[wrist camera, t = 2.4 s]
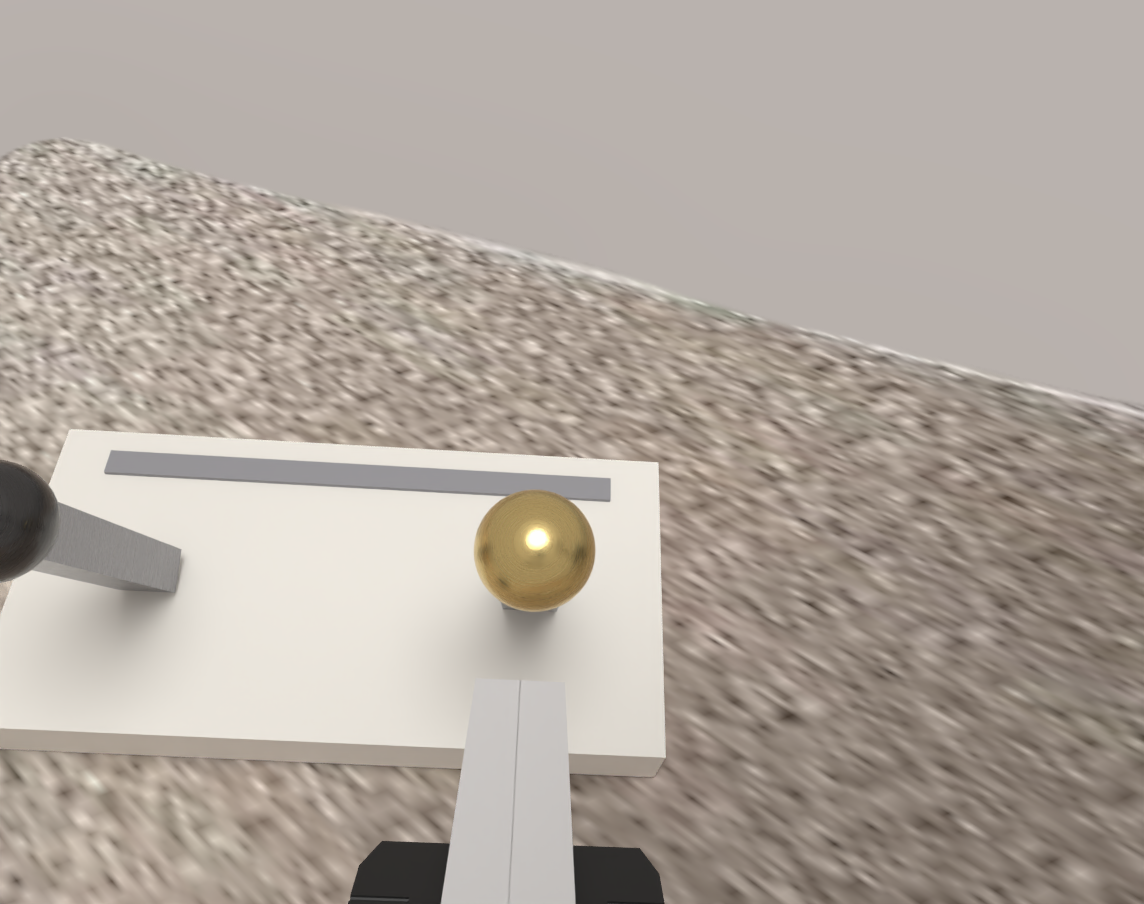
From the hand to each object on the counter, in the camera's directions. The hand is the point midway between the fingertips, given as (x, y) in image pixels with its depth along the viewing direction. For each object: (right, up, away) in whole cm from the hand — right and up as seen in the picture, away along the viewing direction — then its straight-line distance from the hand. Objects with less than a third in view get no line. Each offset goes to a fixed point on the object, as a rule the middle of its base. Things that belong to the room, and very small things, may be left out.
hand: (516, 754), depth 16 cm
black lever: (-15, +1, +19) cm, 24 cm away
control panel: (-8, -1, +22) cm, 23 cm away
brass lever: (-1, 0, +20) cm, 20 cm away
